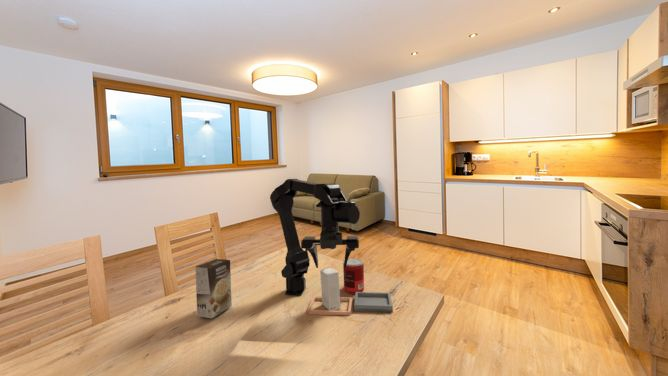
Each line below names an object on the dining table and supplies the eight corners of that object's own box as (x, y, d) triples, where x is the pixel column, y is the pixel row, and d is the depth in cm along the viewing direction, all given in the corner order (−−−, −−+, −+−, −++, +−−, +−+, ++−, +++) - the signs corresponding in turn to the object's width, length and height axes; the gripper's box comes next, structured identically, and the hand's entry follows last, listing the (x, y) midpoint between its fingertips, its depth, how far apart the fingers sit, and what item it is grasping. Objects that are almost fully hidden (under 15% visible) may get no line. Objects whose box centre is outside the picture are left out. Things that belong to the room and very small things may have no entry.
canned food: (364, 285, 107) (363, 258, 107) (364, 294, 99) (363, 264, 99) (344, 285, 108) (343, 258, 108) (343, 294, 100) (342, 264, 100)
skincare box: (341, 309, 89) (339, 272, 88) (328, 312, 87) (327, 274, 87) (332, 301, 94) (331, 267, 94) (321, 304, 92) (319, 269, 92)
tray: (354, 311, 87) (354, 304, 87) (355, 297, 97) (355, 291, 97) (392, 312, 86) (392, 305, 86) (390, 298, 96) (389, 292, 96)
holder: (306, 314, 86) (306, 310, 86) (313, 299, 97) (313, 296, 97) (350, 315, 85) (350, 312, 85) (352, 300, 95) (352, 297, 95)
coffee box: (212, 319, 85) (210, 268, 84) (196, 316, 87) (194, 266, 87) (232, 305, 94) (230, 259, 93) (217, 303, 96) (215, 258, 95)
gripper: (296, 225, 83) (298, 276, 83) (358, 225, 81) (359, 276, 82) (303, 220, 94) (305, 264, 95) (358, 219, 92) (359, 264, 93)
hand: (331, 267), depth 91 cm, fingers open, 9 cm apart
